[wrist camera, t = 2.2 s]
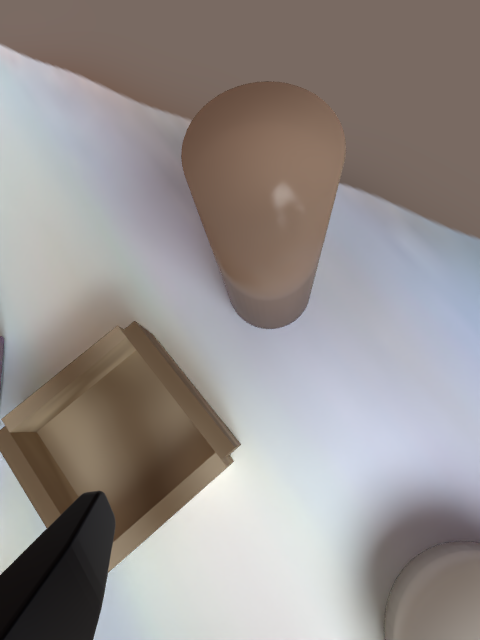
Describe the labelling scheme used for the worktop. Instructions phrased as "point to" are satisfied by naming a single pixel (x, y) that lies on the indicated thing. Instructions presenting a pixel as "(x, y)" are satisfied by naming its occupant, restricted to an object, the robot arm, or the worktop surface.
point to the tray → (117, 437)
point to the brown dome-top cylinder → (265, 192)
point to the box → (1, 355)
